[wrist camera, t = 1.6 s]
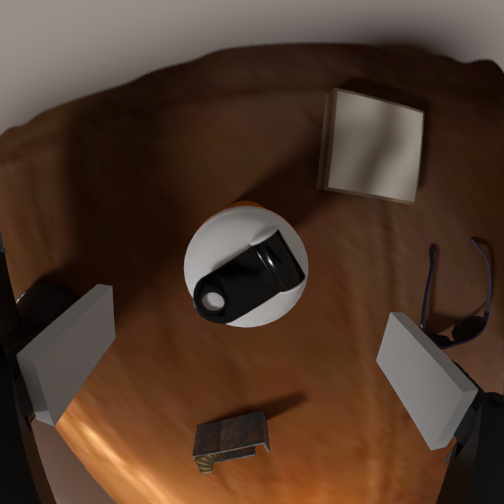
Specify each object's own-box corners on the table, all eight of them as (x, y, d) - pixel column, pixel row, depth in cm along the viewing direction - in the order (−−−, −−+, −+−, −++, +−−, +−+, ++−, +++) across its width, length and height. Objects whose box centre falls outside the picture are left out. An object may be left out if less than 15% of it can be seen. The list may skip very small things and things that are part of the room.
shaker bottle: (194, 225, 39) (147, 275, 20) (250, 177, 38) (255, 181, 18) (241, 278, 41) (238, 368, 21) (296, 233, 40) (343, 290, 20)
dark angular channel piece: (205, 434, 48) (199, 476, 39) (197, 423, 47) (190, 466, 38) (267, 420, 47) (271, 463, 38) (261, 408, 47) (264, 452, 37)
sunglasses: (408, 343, 44) (422, 359, 40) (412, 246, 41) (431, 255, 36) (472, 323, 44) (488, 336, 39) (480, 235, 41) (500, 241, 36)
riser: (315, 188, 38) (324, 190, 34) (325, 95, 35) (334, 87, 31) (401, 202, 39) (416, 206, 35) (409, 115, 36) (425, 111, 32)
